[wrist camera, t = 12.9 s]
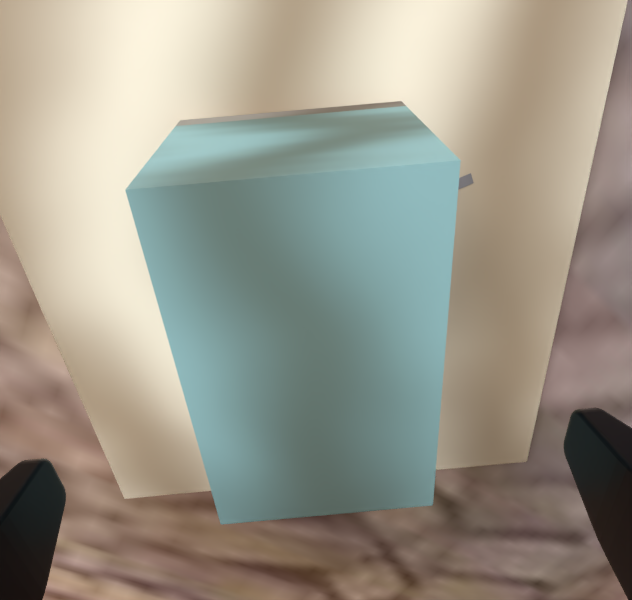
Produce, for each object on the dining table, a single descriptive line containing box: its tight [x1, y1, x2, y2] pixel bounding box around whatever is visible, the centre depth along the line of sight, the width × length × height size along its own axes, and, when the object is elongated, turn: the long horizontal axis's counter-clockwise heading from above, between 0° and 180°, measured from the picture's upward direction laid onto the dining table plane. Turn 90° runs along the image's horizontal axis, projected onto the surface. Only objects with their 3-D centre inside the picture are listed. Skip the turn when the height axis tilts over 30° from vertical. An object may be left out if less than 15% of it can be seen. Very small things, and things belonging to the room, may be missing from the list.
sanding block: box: [125, 101, 461, 524], centre depth 13 cm, size 6×9×5 cm, turn 4°
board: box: [0, 0, 628, 499], centre depth 13 cm, size 16×26×1 cm, turn 4°
